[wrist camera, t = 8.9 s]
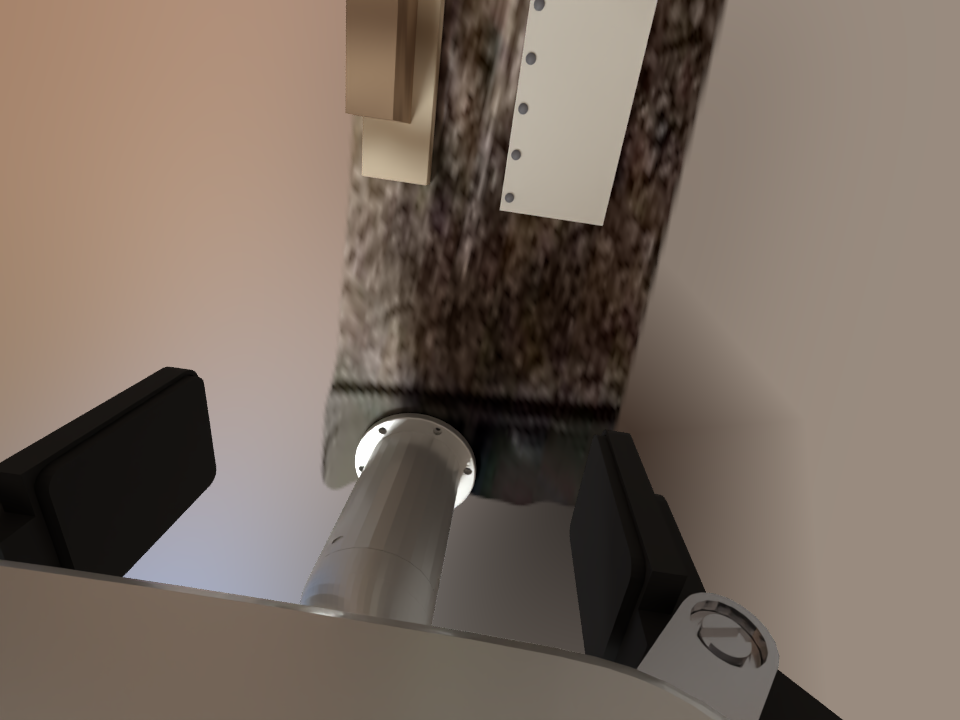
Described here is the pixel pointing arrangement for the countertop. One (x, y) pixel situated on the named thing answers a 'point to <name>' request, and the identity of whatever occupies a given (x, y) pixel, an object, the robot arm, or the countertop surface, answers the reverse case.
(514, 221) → the countertop surface
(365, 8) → the stub
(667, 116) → the countertop surface
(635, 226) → the countertop surface
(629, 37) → the board
